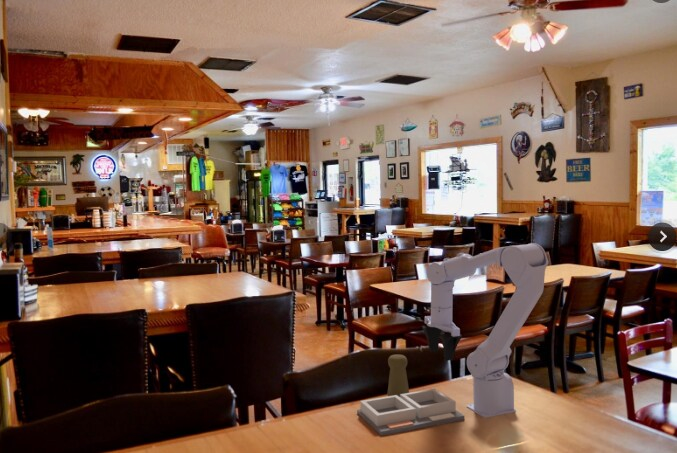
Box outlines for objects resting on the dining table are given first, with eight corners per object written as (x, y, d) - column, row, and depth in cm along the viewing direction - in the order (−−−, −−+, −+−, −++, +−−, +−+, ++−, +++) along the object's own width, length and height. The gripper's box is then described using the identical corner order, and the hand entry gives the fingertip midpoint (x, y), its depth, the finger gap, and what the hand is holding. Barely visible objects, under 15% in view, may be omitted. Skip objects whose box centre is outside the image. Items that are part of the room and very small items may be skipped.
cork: (408, 400, 146) (408, 359, 145) (386, 399, 147) (385, 358, 146) (410, 392, 152) (409, 352, 151) (388, 391, 153) (387, 352, 152)
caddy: (434, 400, 145) (434, 387, 145) (464, 419, 132) (464, 405, 132) (357, 413, 138) (356, 400, 137) (381, 436, 124) (380, 420, 124)
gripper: (415, 301, 153) (414, 349, 155) (443, 313, 140) (442, 365, 141) (437, 299, 156) (436, 346, 157) (466, 311, 143) (466, 362, 144)
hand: (441, 355), depth 149 cm, fingers open, 7 cm apart
